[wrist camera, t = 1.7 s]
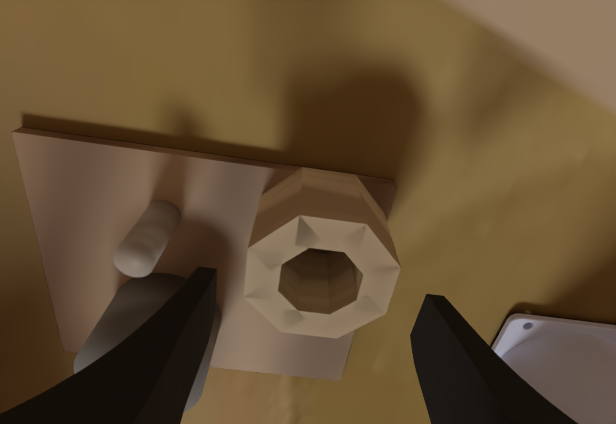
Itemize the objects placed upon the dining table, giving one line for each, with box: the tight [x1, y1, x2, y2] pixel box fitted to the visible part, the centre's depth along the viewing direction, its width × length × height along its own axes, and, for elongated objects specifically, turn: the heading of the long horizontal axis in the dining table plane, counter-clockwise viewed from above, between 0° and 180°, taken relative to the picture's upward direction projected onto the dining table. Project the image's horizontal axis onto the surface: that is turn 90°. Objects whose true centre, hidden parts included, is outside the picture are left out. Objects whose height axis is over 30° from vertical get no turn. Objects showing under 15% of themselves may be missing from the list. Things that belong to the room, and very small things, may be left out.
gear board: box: [12, 127, 397, 412], centre depth 18 cm, size 16×13×6 cm
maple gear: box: [244, 167, 401, 338], centre depth 16 cm, size 6×6×4 cm
